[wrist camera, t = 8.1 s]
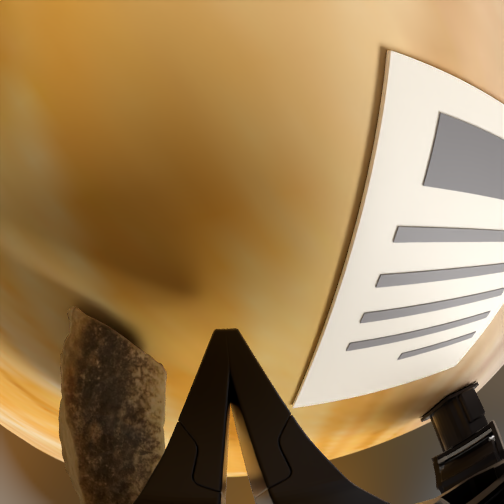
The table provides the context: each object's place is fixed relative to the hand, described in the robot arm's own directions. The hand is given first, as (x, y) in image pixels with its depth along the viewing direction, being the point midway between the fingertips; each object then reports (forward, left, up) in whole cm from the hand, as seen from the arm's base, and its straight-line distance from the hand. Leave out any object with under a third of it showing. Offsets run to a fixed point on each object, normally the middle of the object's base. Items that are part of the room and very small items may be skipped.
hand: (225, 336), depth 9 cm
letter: (0, -11, -1) cm, 11 cm away
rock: (-6, +5, -1) cm, 8 cm away
